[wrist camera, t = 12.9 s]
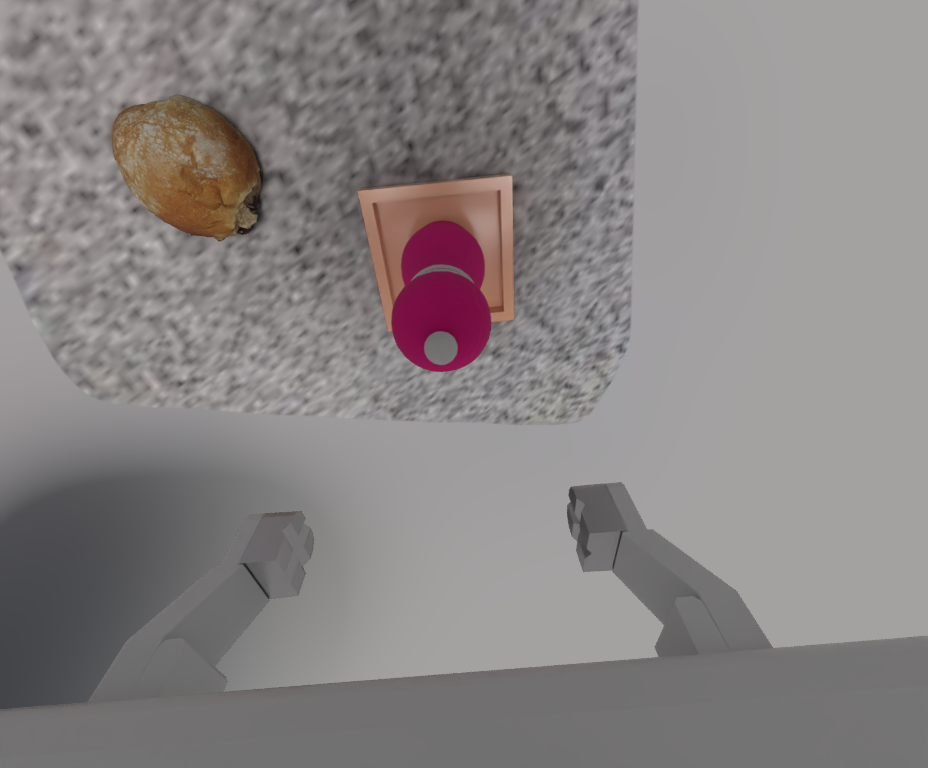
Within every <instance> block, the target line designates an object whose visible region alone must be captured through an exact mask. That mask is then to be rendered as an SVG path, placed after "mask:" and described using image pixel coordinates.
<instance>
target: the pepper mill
mask: <svg viewBox="0 0 928 768" xmlns="http://www.w3.org/2000/svg"><path fill="white" fill-rule="evenodd" d="M401 272H402V279H403V282H404V285H405V286H404V288H403V289H402V291H401V292H400V293H399V295H398V297H397V298H396V301H395V303H394V306H393V310H392V317H391V325H392V332H393V336H394V339H395V341H396V343H397V346H398V348H399V349H400V350H401V352H402V353H403V354H404V355H405V357H406V358H407V359H409V360H410V361H411V362H412V363H414V364H415V365H417V366H419V367H421V368H423V369H427V370H430V371H437V372H445V371H452V370H457V369H459V368H462V367H464V366H466V365H468V364H469V363H471V362H472V361H474V360H475V359H476V358H477V357H478V356H479V354H480V353H481V352H482V350H483V349H484V348H485V346H486V344H487V341H488V339H489V335H490V331H491V313H490V308H489V305H488V302H487V300H486V298H485V296H484V294H483V293H482V292H481V290H480V288H481V286H482V283H483V280H484V275H485V260H484V255H483V252H482V249H481V247H480V245H479V244H478V242H477V240H476V239H475V238H474V237H473V236H472V235H471V234H470V233H469V232H468V231H466V230H465V229H464V228H463V227H461V226H460V225H458V224H456V223H454V222H451V221H435V222H432V223H429V224H427V225H426V226H424V227H423V228H421V229H420V230H418V231H417V232H416V233H415V234H414V235H413V236H412V237H411V238H410V239H409V241H408V242H407V244H406V246H405V248H404V251H403V254H402V259H401Z"/></svg>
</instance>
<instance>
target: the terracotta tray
mask: <svg viewBox="0 0 928 768" xmlns="http://www.w3.org/2000/svg"><path fill="white" fill-rule="evenodd" d="M358 195H359V200H360V204H361V209H362V214H363V218H364V223H365V227H366V232H367V237H368V241H369V246H370V250H371V255H372V260H373V264H374V269H375V274H376V278H377V283H378V287H379V292H380V297H381V301H382V306H383V310H384V315H385V320H386V324H387V329H388V332H392V325H391V317H392V310H393V306H394V303H395V301H396V298H397V297H398V295H399V293H400V292H401V291H402V289H403V288H404V286H405V285H404V282H403V279H402V272H401V259H402V254H403V251H404V248H405V246H406V244H407V242H408V241H409V239H410V238H411V237H412V236H413V235H414V234H415V233H416V232H417V231H418V230H420V229H421V228H423V227H424V226H426V225H427V224H429V223H432V222H435V221H451V222H454V223H456V224H458V225H460V226H461V227H463V228H464V229H465V230H466V231H468V232H469V233H470V234H471V235H472V236H473V237H474V238H475V239H476V240H477V242H478V244H479V245H480V247H481V249H482V252H483V255H484V260H485V275H484V280H483V283H482V286H481V288H480V290H481V292H482V293H483V294H484V296H485V298H486V300H487V302H488V305H489V308H490V313H491V322H498V321H508V320H514V277H513V199H512V175H510V174H499V175H489V176H479V177H469V178H459V179H450V180H440V181H430V182H420V183H410V184H400V185H390V186H380V187H370V188H362V189H360V190H359V191H358Z"/></svg>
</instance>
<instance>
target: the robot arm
mask: <svg viewBox="0 0 928 768" xmlns="http://www.w3.org/2000/svg"><path fill="white" fill-rule="evenodd" d="M569 498H570V501H571V502H570V503H569V504H568V505H567V517H568V524H569V529H570V532H571V535H572V537H573V538H574V539H575V540H576V541H577V549H576V551H577V554H578V558H579V561H580V564H581V567H582V570H583V572H590V571H608V570H613V573H614V574H615V575H616V576H617V577H618V578H619V579H620V580H621V581H622V582H623V583H624V584H625V585H626V586H627V587H628V588H629V589H630V590H631V591H632V592H633V593H634V594H635V595H636V596H637V597H638V599H639V600H640V601H641V602H642V603H643V604H644V605H645V606H646V607H647V608H648V609H649V610H650V611H651V612H652V613H653V614H654V615H655V616H656V617H657V618H658V619H659V620H660V621H661V622H662V623H663V625H664V627H663V630H662V632H661V634H660V637H659V638H658V641H657V643H656V645H655V649H656V652H657V654H658V657H655V658H642V659H630V660H618V661H606V662H592V663H581V664H580V663H579V664H568V665H554V666H542V667H529V668H516V669H504V670H491V671H480V672H466V673H453V674H441V675H428V676H416V677H404V678H391V679H378V680H365V681H353V682H341V683H328V684H316V685H303V686H290V687H278V688H265V689H253V690H241V691H228V692H224V690H225V687H226V684H227V679H226V676H225V675H223V674H222V673H221V672H220V671H219V670H218V669H217V668H216V667H215V666H216V664H217V663H218V662H219V661H220V659H221V658H222V657H223V656H224V655H225V653H226V652H227V651H228V650H229V649H230V648H231V646H232V645H233V644H234V643H235V642H236V640H237V639H238V638H239V637H240V636H241V634H242V633H243V632H244V631H245V630H246V628H247V627H248V626H249V625H250V624H251V622H252V621H253V620H254V619H255V618H256V616H257V615H258V614H259V613H260V612H261V610H262V609H263V608H264V607H265V606H266V604H267V603H268V602H269V599H272V598H273V599H274V598H283V597H291V596H298V595H299V592H300V589H301V585H302V583H303V580H304V577H305V574H306V573H305V571H304V568H303V566H304V565H305V564H306V563H307V562H308V561H309V560H310V558H311V555H312V552H313V545H314V537H313V532H312V530H311V528H310V527H309V526H307V525H305V524H304V521H305V516H304V515H303V513H302V511H296V512H279V513H264V514H252V515H249V516H248V517H247V518H245V519H244V521H243V523H242V525H241V527H240V529H239V530H238V532H237V534H236V536H235V538H234V540H233V542H232V544H231V545H230V547H229V549H228V551H227V553H226V555H225V557H224V559H223V561H222V562H221V564H220V566H217V567H213V568H212V569H211V570H210V571H209V572H207V573H206V574H205V575H204V576H203V577H202V578H201V579H199V580H198V581H197V582H196V583H195V584H193V585H192V586H191V587H190V588H189V589H187V590H186V591H185V592H184V593H183V594H182V595H180V596H179V597H178V598H177V599H176V600H175V601H173V602H172V603H171V604H170V605H169V606H168V607H166V608H165V609H164V610H163V611H162V612H160V613H159V614H158V615H157V616H156V617H154V618H153V619H152V620H151V621H150V622H148V623H147V624H146V625H145V626H144V627H143V628H141V629H140V630H139V631H138V632H137V633H135V634H134V635H133V636H132V637H131V638H130V639H128V640H127V641H126V643H125V645H124V646H123V647H122V649H121V651H120V652H119V654H118V655H117V657H116V658H115V660H114V662H113V663H112V665H111V666H110V668H109V669H108V671H107V672H106V674H105V676H104V677H103V679H102V680H101V682H100V683H99V685H98V686H97V688H96V690H95V691H94V693H93V694H92V696H91V697H90V699H89V701H88V702H87V703H79V704H78V703H77V704H66V705H53V706H40V707H28V708H15V709H3V710H0V768H928V636H917V637H907V638H895V639H882V640H870V641H858V642H844V643H833V644H819V645H806V646H794V647H781V648H773V647H772V645H771V644H770V642H769V641H768V639H767V638H766V636H765V635H764V633H763V631H762V630H761V628H760V627H759V625H758V624H757V622H756V620H755V619H754V617H753V616H752V614H751V613H750V611H749V609H748V608H747V606H746V605H745V603H744V602H743V600H742V598H741V597H740V595H739V594H738V592H737V591H736V590H734V589H733V588H732V587H730V586H729V585H728V584H726V583H725V582H724V581H722V580H721V579H719V578H718V577H717V576H715V575H714V574H713V573H711V572H710V571H708V570H707V569H706V568H704V567H703V566H702V565H700V564H699V563H698V562H696V561H695V560H693V559H692V558H691V557H689V556H688V555H687V554H685V553H684V552H682V551H681V550H680V549H679V548H677V547H676V546H675V545H673V544H672V543H670V542H669V541H668V540H666V539H665V538H663V537H662V536H661V535H660V534H658V533H657V532H655V531H654V530H647V528H646V526H645V524H644V522H643V520H642V518H641V517H640V515H639V513H638V511H637V509H636V507H635V505H634V503H633V501H632V499H631V497H630V495H629V493H628V491H627V490H626V488H625V486H624V484H622V483H621V482H619V483H608V484H594V485H584V486H574V487H570V489H569Z"/></svg>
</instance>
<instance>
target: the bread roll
mask: <svg viewBox="0 0 928 768" xmlns="http://www.w3.org/2000/svg"><path fill="white" fill-rule="evenodd" d="M169 98H170V100H167V101H164V102H161V101H157V102H151V103H147V104H141V105H135V106H132V107H129V108H127V109H125V110H124V111H122V112H121V113H120V114H118V116H117V118H116V120H115V122H114V125H113V128H112V146H113V154H114V158H115V160H116V161H117V163H118V166H119V168H120V171H121V174H122V176H123V178H124V180H125V182H126V184H127V185H128V187H129V188H130V190H131V191H132V193H133V194H134V195H135V197H136V198H137V199H138V200H139V201H140V202H141V203H142V205H143V206H144V207H145V208H146V209H147V210H149V211H150V212H152V213H153V214H155V215H156V216H157V217H159V218H160V219H162V220H163V221H164V222H166V223H168V224H170V225H172V226H173V227H175V228H177V229H179V230H181V231H184V232H186V233H190V234H191V236H193V235H197V236H206V237H214V238H216V239H217V240H218V241H222V240H224V239H225V238H226V237H228V236H231V235H234V234H237V233H238V234H242V235H244V234H247V233H249V232H250V230H251V229H252V225H253V224H255V223H256V221H257V217H258V215H257V214H255V211H256V210H257V209H259V208H260V202H259V199H258V195H259V192H260V189H261V179H260V173H259V171H260V168H259V166H258V163H257V160H256V156H255V154H254V151H253V149H252V147H251V145H250V144H249V143H248V142H247V141H246V139H245V138H244V137H243V136H242V135H241V133H240V131H238V130H237V129H235V128H234V127H233V126H232V125H231V124H230V123H229V122H228V121H227V120H226V119H225V118H224V117H223V116H222V115H221V114H219V113H218V112H217V111H215V110H214V109H213V108H210V107H208V106H205V105H203V104H201V103H199V102H197V101H196V100H194V99H190V98H187V97H183V96H181V95H175V96H172V97H169Z"/></svg>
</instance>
